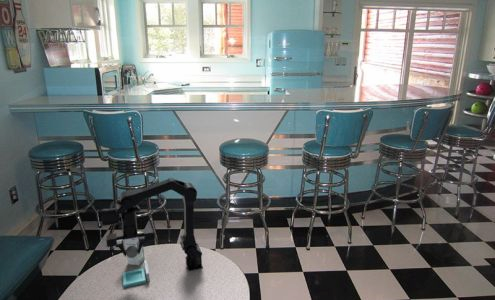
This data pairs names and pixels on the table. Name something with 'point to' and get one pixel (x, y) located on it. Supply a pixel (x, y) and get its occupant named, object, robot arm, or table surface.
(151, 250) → the table surface
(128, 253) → the ball
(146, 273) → the gray flat board
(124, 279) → the coaster
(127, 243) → the syrup box
